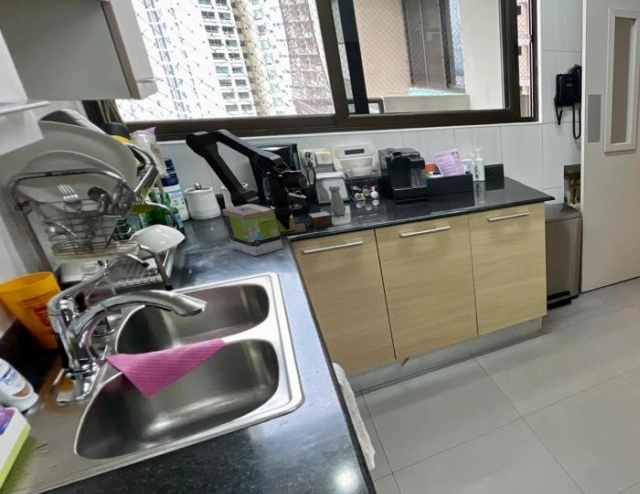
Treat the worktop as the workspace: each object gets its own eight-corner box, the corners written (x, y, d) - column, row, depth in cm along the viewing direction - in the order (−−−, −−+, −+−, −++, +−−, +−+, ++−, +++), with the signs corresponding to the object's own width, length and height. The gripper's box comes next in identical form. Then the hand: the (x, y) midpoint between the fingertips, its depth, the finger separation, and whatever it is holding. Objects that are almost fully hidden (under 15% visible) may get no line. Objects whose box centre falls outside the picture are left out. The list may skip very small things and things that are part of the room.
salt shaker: (342, 216, 203) (336, 187, 198) (329, 216, 203) (323, 186, 198) (349, 212, 208) (343, 183, 203) (336, 212, 208) (330, 183, 203)
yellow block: (280, 231, 181) (277, 219, 179) (280, 228, 185) (277, 216, 183) (295, 229, 184) (292, 217, 182) (294, 226, 188) (292, 214, 186)
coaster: (270, 237, 177) (270, 236, 177) (270, 228, 186) (270, 227, 186) (306, 232, 183) (306, 230, 183) (304, 224, 192) (304, 222, 192)
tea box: (284, 248, 166) (274, 208, 161) (254, 257, 158) (242, 215, 153) (262, 240, 173) (251, 202, 168) (232, 248, 165) (220, 208, 160)
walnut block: (315, 228, 187) (312, 217, 185) (311, 224, 192) (308, 214, 190) (332, 225, 191) (330, 214, 189) (328, 221, 196) (326, 211, 194)
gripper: (303, 191, 175) (312, 230, 181) (300, 181, 189) (308, 218, 195) (268, 194, 169) (279, 235, 175) (268, 184, 184) (277, 222, 190)
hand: (287, 227), depth 184 cm, fingers open, 7 cm apart
